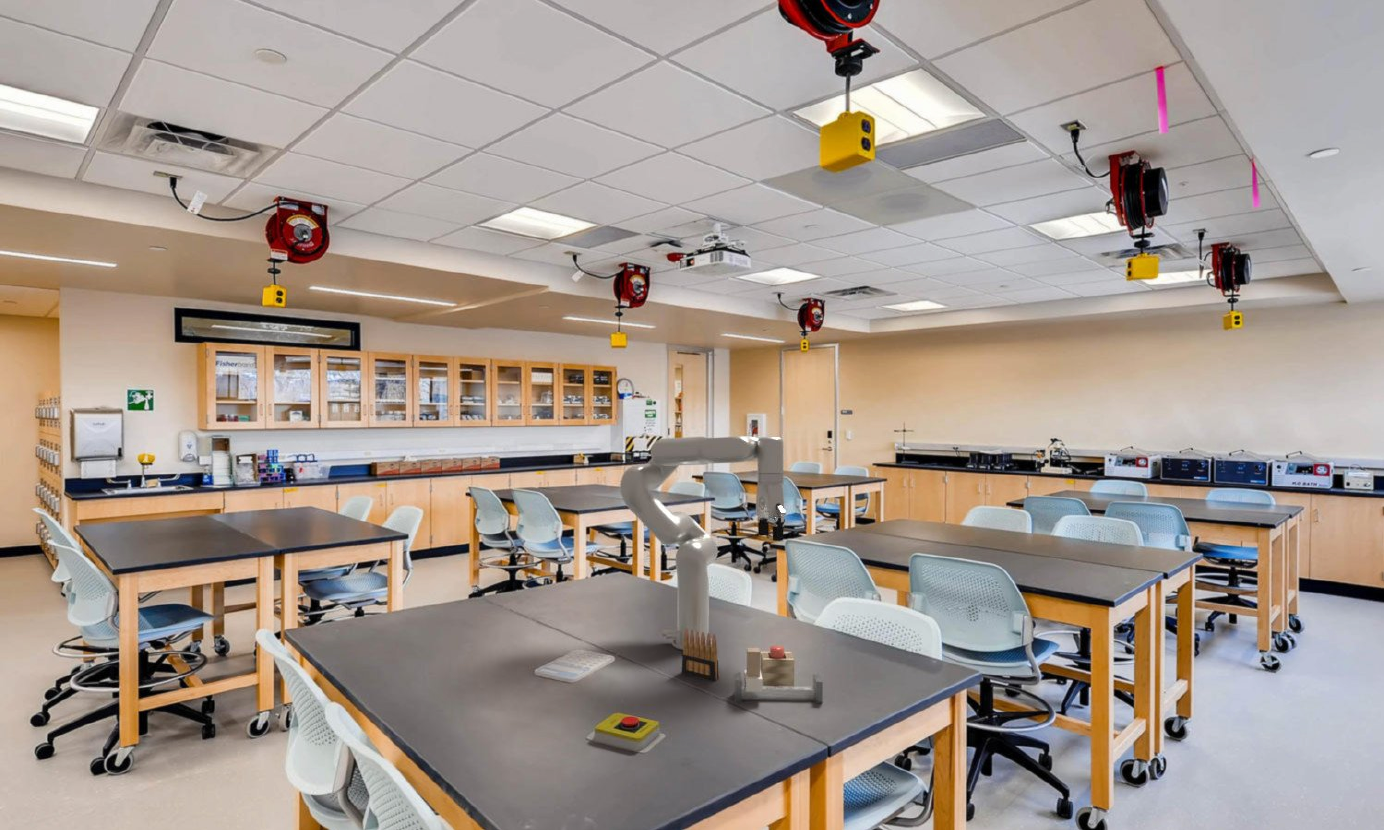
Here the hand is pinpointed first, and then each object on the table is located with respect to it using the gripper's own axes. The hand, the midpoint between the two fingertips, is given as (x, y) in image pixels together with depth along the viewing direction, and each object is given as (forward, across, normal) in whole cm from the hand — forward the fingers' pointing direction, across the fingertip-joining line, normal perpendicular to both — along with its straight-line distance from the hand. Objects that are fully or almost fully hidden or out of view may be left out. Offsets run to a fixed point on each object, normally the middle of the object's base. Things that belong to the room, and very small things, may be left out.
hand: (770, 537), depth 200 cm
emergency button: (+34, +38, -52) cm, 74 cm away
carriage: (+31, +28, -18) cm, 45 cm away
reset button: (+29, +20, -8) cm, 36 cm away
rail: (+34, +30, -12) cm, 47 cm away
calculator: (+34, -7, -56) cm, 66 cm away
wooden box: (+34, +20, -8) cm, 40 cm away
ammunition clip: (+34, +10, -26) cm, 44 cm away
